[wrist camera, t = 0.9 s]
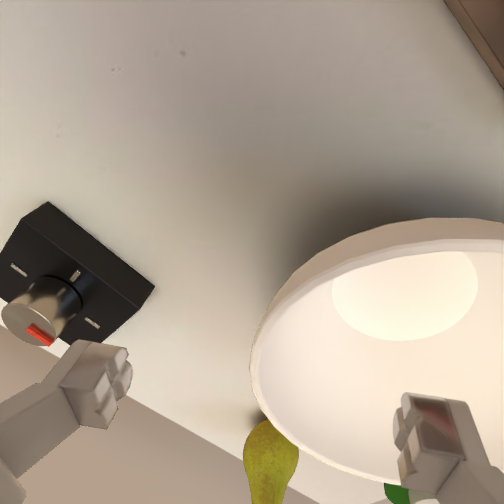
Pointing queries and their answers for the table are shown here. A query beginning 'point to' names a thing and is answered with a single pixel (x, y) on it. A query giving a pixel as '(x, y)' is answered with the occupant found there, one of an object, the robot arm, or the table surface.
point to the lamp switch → (483, 29)
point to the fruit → (269, 463)
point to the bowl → (385, 340)
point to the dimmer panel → (72, 272)
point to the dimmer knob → (42, 311)
